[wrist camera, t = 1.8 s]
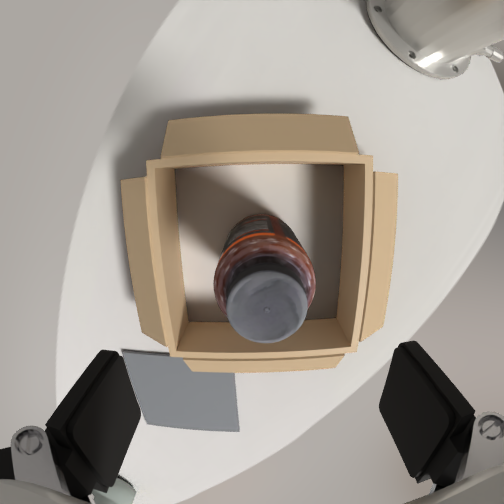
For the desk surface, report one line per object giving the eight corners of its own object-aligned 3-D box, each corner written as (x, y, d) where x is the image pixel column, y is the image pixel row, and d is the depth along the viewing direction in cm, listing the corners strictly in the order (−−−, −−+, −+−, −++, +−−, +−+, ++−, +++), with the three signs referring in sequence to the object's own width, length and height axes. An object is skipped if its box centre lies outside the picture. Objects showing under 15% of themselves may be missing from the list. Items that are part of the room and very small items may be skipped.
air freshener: (132, 496, 39) (121, 529, 30) (97, 480, 38) (83, 512, 29) (140, 481, 37) (127, 521, 27) (99, 463, 36) (82, 501, 26)
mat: (233, 356, 27) (232, 358, 27) (239, 429, 31) (239, 431, 30) (123, 350, 28) (122, 352, 27) (148, 422, 31) (147, 424, 30)
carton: (380, 127, 21) (408, 118, 16) (365, 345, 27) (382, 375, 22) (134, 132, 22) (106, 125, 17) (160, 350, 27) (144, 381, 22)
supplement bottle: (211, 249, 24) (178, 310, 14) (259, 197, 23) (263, 220, 12) (262, 294, 26) (267, 376, 15) (310, 246, 24) (351, 304, 13)
